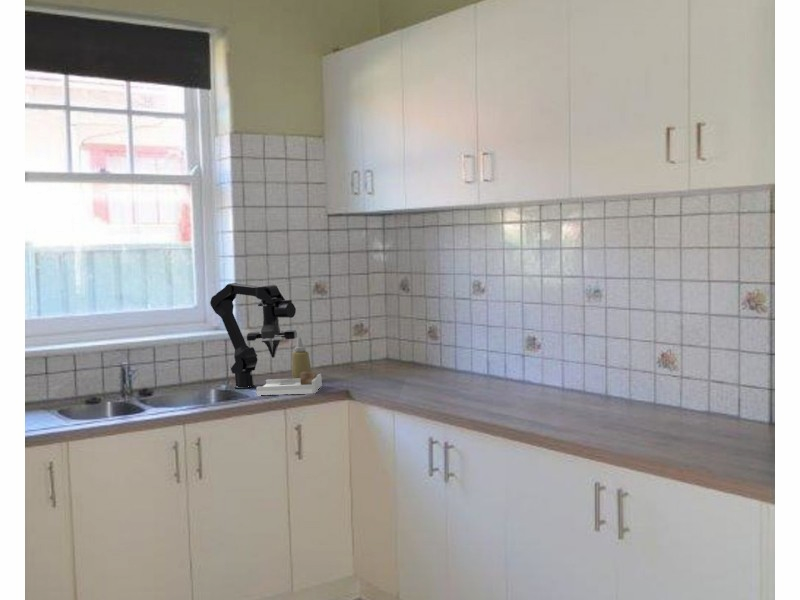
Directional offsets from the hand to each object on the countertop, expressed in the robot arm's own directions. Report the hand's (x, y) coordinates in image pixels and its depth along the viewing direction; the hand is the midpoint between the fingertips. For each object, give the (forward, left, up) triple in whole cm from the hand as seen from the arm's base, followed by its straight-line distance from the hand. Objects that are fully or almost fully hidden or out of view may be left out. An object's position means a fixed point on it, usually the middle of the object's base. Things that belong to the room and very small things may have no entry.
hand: (273, 357), depth 337 cm
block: (+14, -5, -10) cm, 18 cm away
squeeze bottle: (+8, +14, -13) cm, 21 cm away
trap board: (+7, -5, -12) cm, 15 cm away
